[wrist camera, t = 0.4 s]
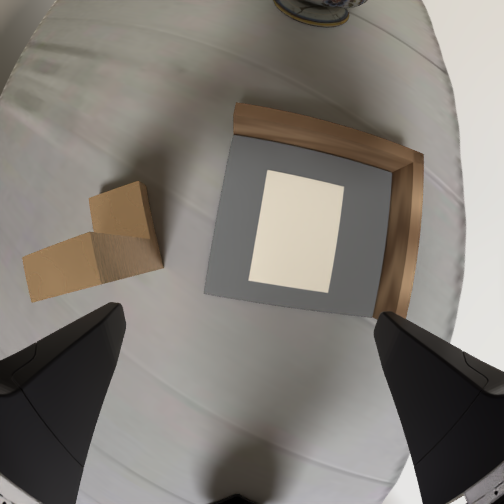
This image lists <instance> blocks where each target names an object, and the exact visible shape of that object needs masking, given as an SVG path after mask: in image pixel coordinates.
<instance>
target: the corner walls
mask: <svg viewBox="0 0 504 504" xmlns="http://www.w3.org/2000/svg"><path fill="white" fill-rule="evenodd" d="M233 130H234V135H240V136H246V137H252V138H257V139H263V140H268V141H273V142H278V143H283V144H288V145H293V146H297V147H302V148H306V149H310V150H315V151H319V152H323V153H327V154H331V155H334V156H338V157H342V158H346V159H349V160H353V161H356V162H360V163H363V164H366V165H370V166H373V167H376V168H379V169H382V170H386V171H389V172H392V182H391V197H390V208H389V218H388V228H387V236H386V243H385V251H384V257H383V264H382V270H381V276H380V281H379V287H378V292H377V297H376V302H375V307H374V312H373V316H372V317H373V318H375V319H377V320H378V317H379V315H380V313H381V312H384V311H392V312H394V313H396V314H397V315H399V316H401V317H403V318H405V319H406V315H407V311H408V306H409V302H410V297H411V291H412V286H413V280H414V274H415V268H416V261H417V254H418V247H419V238H420V228H421V217H422V202H423V176H424V154H422V153H420V152H417V151H415V150H412V149H410V148H407V147H405V146H402V145H400V144H397V143H394V142H392V141H389V140H386V139H383V138H380V137H377V136H375V135H372V134H369V133H366V132H362V131H359V130H356V129H353V128H350V127H346V126H343V125H339V124H336V123H332V122H329V121H325V120H321V119H317V118H313V117H309V116H305V115H301V114H296V113H292V112H287V111H282V110H278V109H272V108H267V107H262V106H256V105H250V104H244V103H237V102H236V105H235V110H234V114H233Z"/></svg>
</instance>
